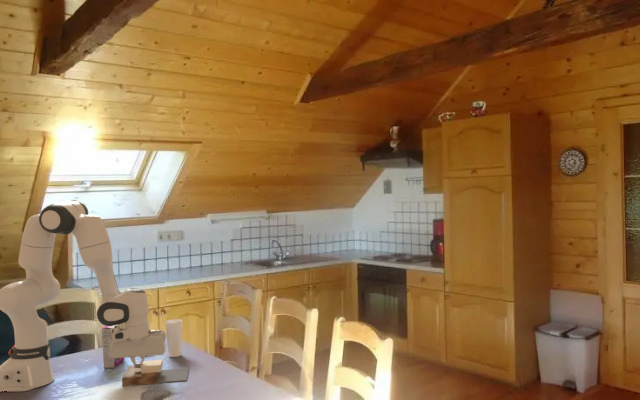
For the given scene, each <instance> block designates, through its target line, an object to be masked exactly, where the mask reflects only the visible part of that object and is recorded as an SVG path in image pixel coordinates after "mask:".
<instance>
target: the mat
mask: <svg viewBox="0 0 640 400" xmlns="http://www.w3.org/2000/svg"><path fill="white" fill-rule="evenodd" d="M189 373H190V368H189V367H185V368H183V367H182V368H171V369H169V368H168V369H162V370H161V372H160V373H159V376H158V379H157V382H156V384H167V383H177V382H187V381H188V378H189V377H188V376H189Z"/></svg>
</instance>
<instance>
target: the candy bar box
mask: <svg viewBox="0 0 640 400" xmlns="http://www.w3.org/2000/svg"><path fill="white" fill-rule="evenodd" d="M123 325H124V323H122V324H118V325H114V326H105V325H104V327H102V328H101V336H102V354H103V368H104V369H115V368H117V367H118V366H119V365H120V364H121V363H122V362H123V361H124V360H125V358H111V357H110V356H109V348H110V343H111V341H112V340H113V339H112V334H113V332H114V331H115V330H117V329H120V328H123V327H124V326H123Z"/></svg>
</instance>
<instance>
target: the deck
mask: <svg viewBox="0 0 640 400" xmlns="http://www.w3.org/2000/svg"><path fill="white" fill-rule="evenodd" d="M159 373H160V372H154V373H142V374H141V368H134V365H128V366H127V368H126V369H125V372H124V373H123V375H122V377H121V382H122V383H121V387H127V386H126V385H131V386H139V385H140V386H142V385H151V384H152V385H155V384H157V383H156V382H157V379H158V376H159Z"/></svg>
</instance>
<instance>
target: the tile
mask: <svg viewBox="0 0 640 400" xmlns="http://www.w3.org/2000/svg"><path fill="white" fill-rule="evenodd" d="M163 364H164V363H163V359H154V360H153V359H152V360H144V361H143V364H142V366H141V374H142V373H154V372H161V370H163V367H164V365H163Z"/></svg>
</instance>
